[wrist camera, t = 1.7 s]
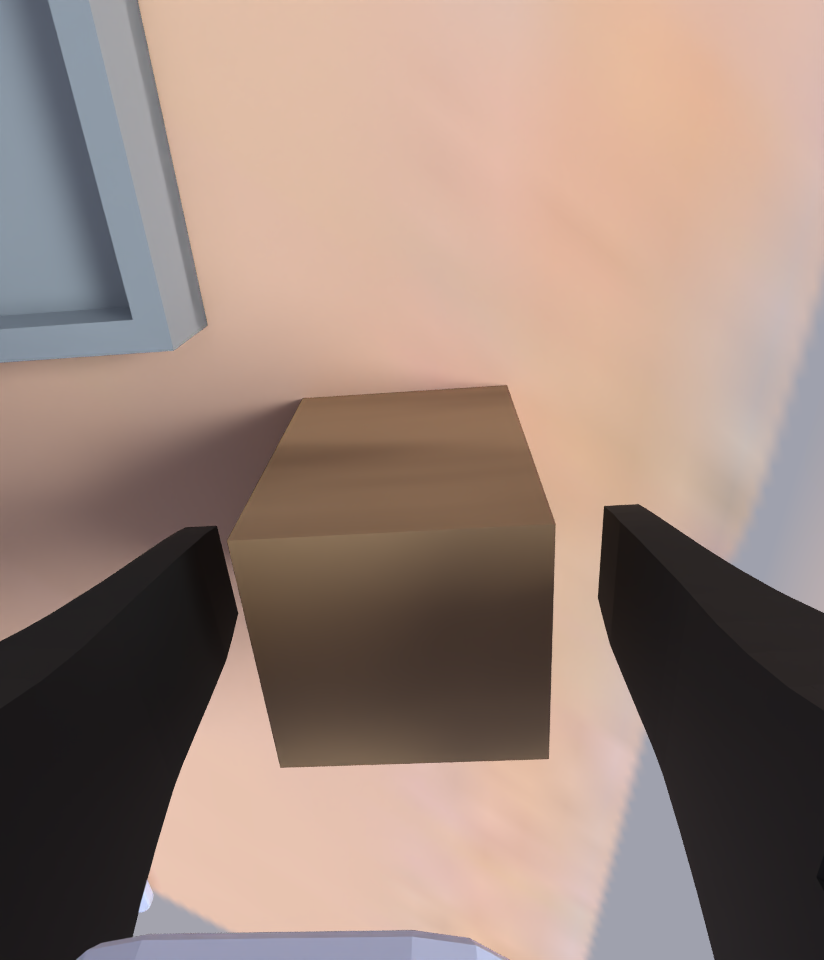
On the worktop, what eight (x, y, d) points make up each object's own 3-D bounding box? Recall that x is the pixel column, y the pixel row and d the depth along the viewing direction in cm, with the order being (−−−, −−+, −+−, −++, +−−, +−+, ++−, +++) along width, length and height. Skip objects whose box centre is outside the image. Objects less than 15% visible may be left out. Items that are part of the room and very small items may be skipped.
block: (508, 558, 16) (548, 758, 11) (329, 566, 16) (280, 767, 11) (506, 385, 14) (555, 523, 9) (302, 397, 14) (226, 540, 9)
